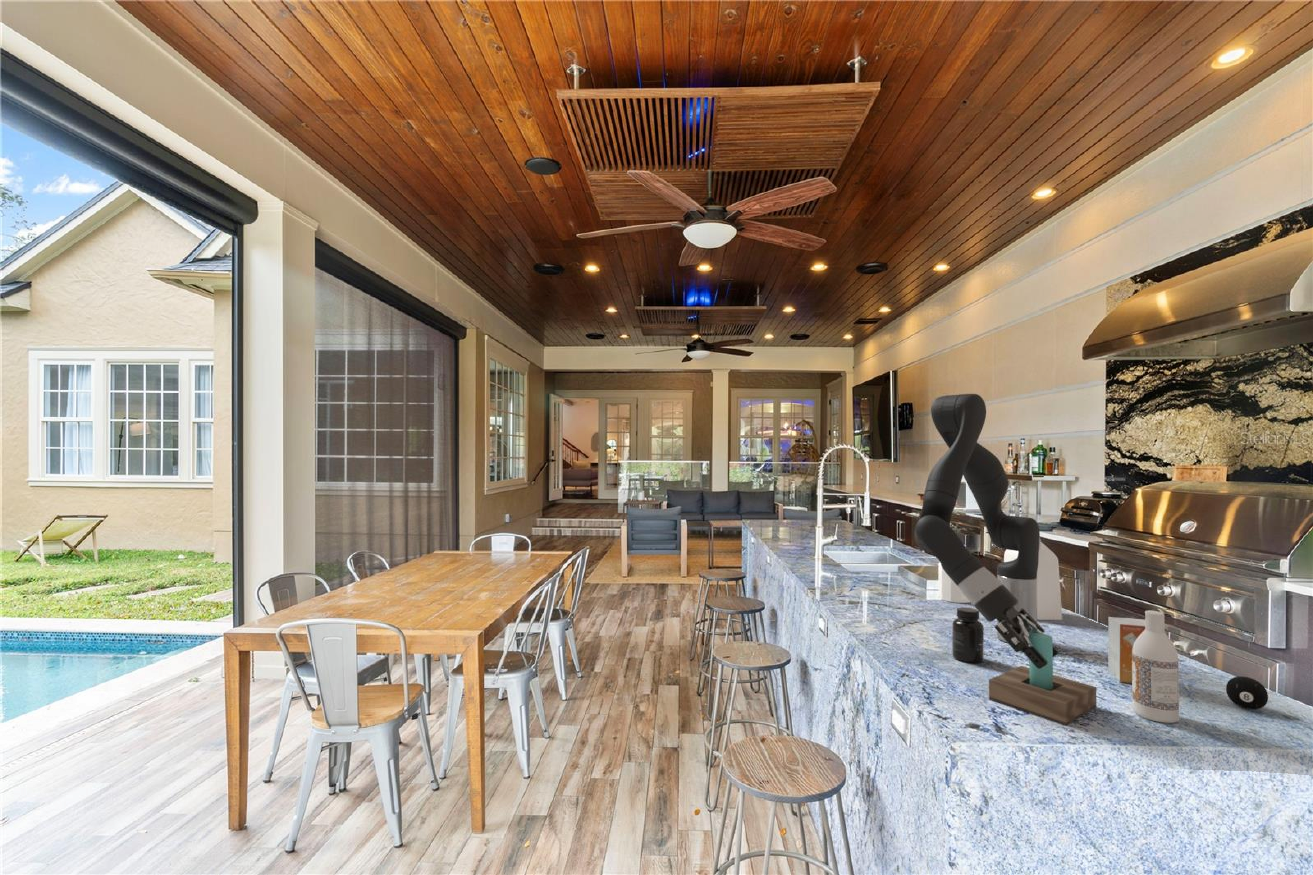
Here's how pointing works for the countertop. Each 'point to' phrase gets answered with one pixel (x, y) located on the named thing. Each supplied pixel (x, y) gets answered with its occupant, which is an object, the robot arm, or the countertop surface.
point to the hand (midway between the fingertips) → (1049, 661)
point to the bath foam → (1155, 672)
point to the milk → (1045, 583)
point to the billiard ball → (1247, 692)
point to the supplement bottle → (968, 636)
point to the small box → (1122, 646)
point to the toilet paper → (949, 588)
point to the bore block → (1043, 696)
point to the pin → (1045, 648)
